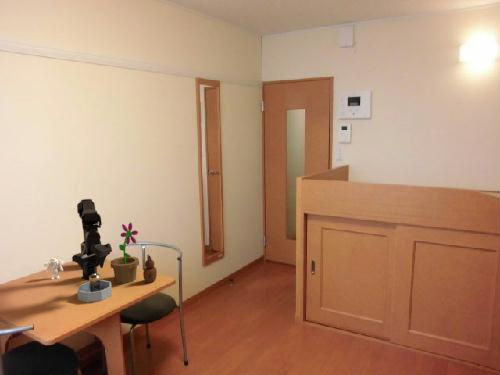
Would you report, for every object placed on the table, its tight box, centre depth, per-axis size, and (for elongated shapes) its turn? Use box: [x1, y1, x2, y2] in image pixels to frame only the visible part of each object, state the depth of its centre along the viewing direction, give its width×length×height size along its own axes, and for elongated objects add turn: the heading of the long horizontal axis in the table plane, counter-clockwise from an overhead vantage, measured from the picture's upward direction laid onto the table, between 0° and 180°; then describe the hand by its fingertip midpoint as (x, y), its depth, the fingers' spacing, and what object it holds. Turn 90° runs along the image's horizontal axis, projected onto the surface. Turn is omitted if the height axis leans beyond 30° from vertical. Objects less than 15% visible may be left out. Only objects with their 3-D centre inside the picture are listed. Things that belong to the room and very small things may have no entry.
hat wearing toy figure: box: [44, 255, 64, 280], centre depth 208 cm, size 9×4×12 cm, turn 118°
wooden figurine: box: [142, 254, 158, 284], centre depth 203 cm, size 7×6×15 cm
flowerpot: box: [110, 222, 140, 284], centre depth 204 cm, size 14×14×30 cm
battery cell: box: [88, 272, 101, 292], centre depth 187 cm, size 4×4×10 cm
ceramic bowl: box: [77, 279, 113, 303], centre depth 187 cm, size 15×15×4 cm
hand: (93, 271), depth 186 cm, fingers open, 9 cm apart
